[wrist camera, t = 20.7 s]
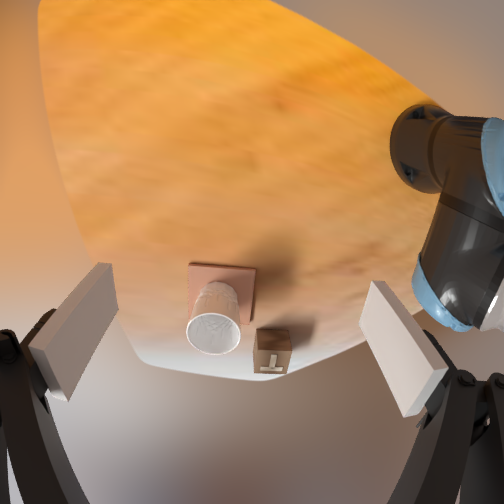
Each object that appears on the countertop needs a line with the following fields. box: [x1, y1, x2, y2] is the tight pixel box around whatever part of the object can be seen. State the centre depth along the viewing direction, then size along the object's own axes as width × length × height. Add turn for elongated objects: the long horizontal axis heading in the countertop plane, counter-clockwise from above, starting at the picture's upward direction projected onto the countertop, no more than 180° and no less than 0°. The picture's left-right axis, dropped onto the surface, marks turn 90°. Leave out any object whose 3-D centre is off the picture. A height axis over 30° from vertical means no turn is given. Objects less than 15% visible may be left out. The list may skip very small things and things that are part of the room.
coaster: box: [188, 263, 256, 325], centre depth 50 cm, size 11×11×1 cm
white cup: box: [186, 282, 241, 355], centre depth 45 cm, size 8×8×10 cm
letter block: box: [253, 329, 292, 374], centre depth 53 cm, size 6×6×6 cm
